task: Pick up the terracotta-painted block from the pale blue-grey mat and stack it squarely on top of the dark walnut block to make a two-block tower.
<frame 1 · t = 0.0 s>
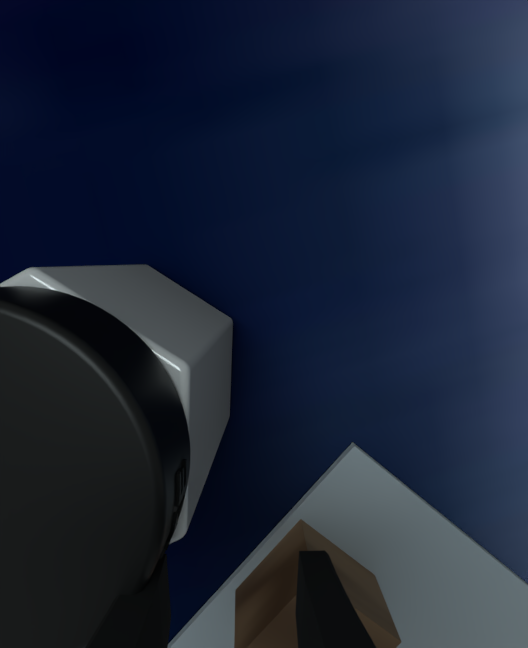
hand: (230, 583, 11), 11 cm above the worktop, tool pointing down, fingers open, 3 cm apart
jar: (147, 363, 21), on the worktop, touching gripper
walnut block: (305, 582, 23), resting on mat
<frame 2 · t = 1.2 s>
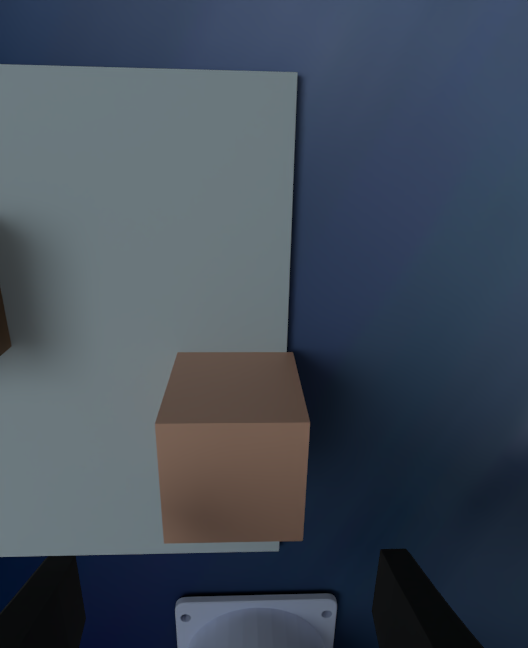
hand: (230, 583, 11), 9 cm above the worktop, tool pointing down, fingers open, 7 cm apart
terracotta block: (235, 402, 19), resting on mat
mat: (83, 353, 18), on the worktop
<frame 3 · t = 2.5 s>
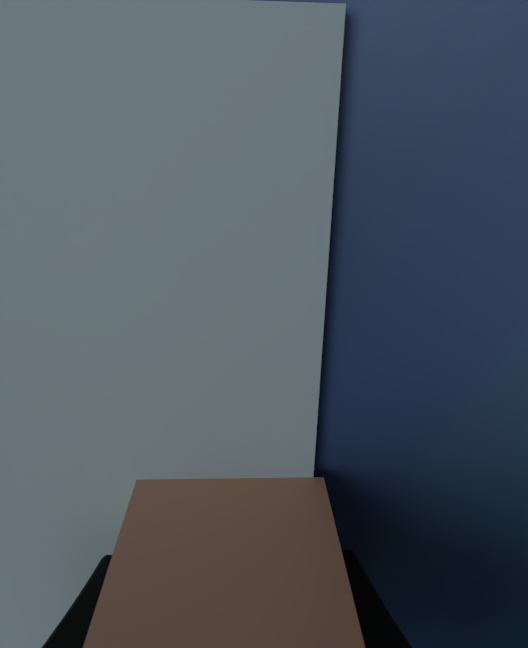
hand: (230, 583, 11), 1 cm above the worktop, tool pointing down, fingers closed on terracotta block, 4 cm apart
terracotta block: (231, 549, 12), resting on mat, touching gripper
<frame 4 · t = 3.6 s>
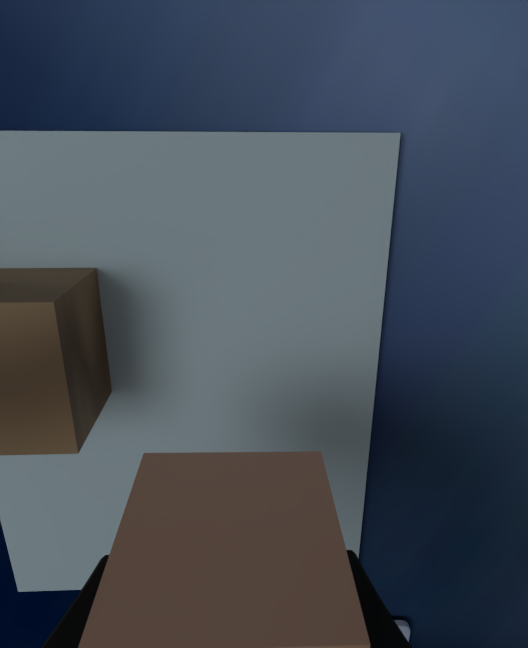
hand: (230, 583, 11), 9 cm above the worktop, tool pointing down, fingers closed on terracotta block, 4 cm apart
terracotta block: (233, 522, 13), point 7 cm above the worktop, touching gripper
mat: (177, 396, 19), on the worktop
walnut block: (36, 333, 17), resting on mat
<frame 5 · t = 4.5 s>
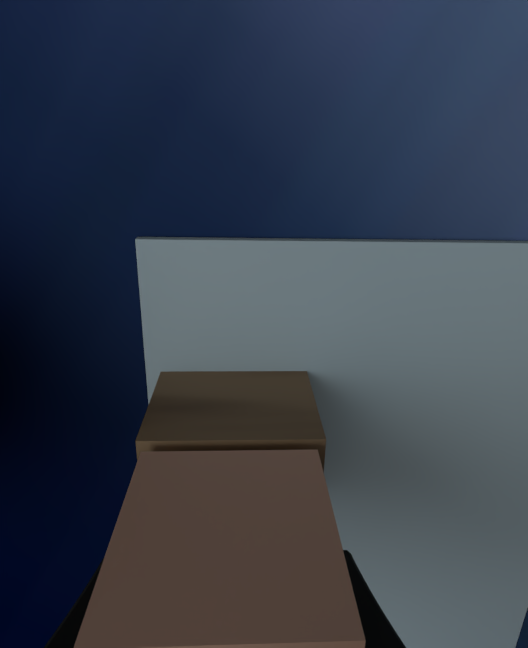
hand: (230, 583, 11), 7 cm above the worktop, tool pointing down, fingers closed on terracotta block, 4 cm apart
terracotta block: (230, 520, 13), point 5 cm above the worktop, touching gripper
mat: (361, 490, 19), on the worktop
walnut block: (234, 433, 17), resting on mat
when the fingers open (7 cm above the worktop, at t = 4.9 s): terracotta block stays where it is, resting on walnut block.
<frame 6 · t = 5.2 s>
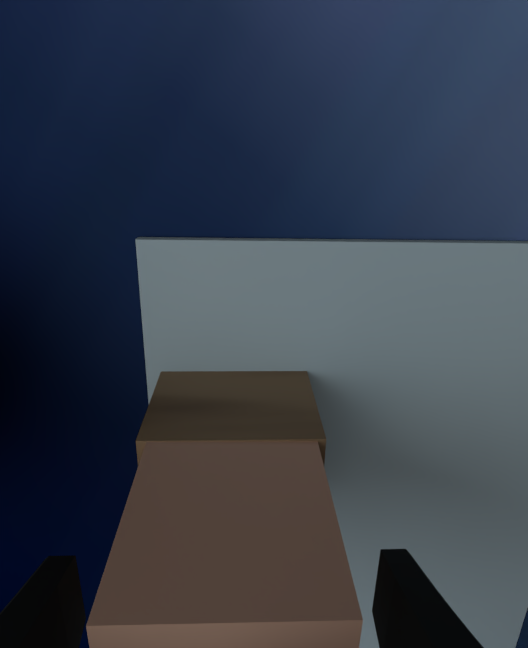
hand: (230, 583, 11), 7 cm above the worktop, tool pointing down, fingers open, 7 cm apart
terracotta block: (232, 509, 13), point 4 cm above the worktop, touching walnut block
mat: (361, 490, 19), on the worktop
walnut block: (234, 433, 17), resting on mat, touching terracotta block
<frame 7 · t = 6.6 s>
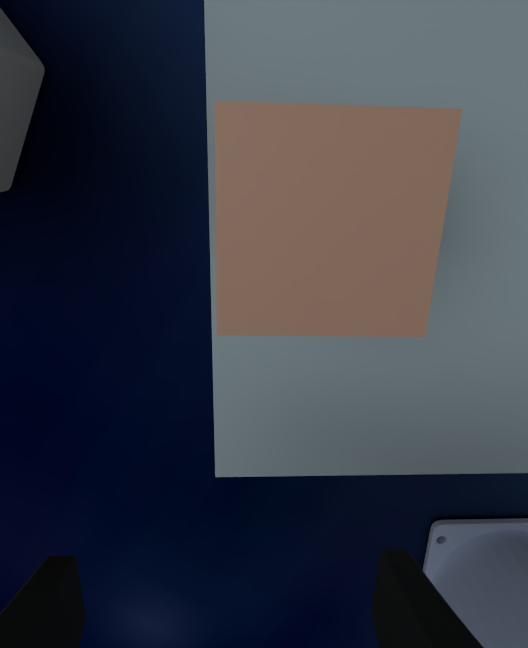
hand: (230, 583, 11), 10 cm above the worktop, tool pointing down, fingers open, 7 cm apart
terracotta block: (300, 201, 14), point 4 cm above the worktop, touching walnut block
mat: (404, 271, 19), on the worktop
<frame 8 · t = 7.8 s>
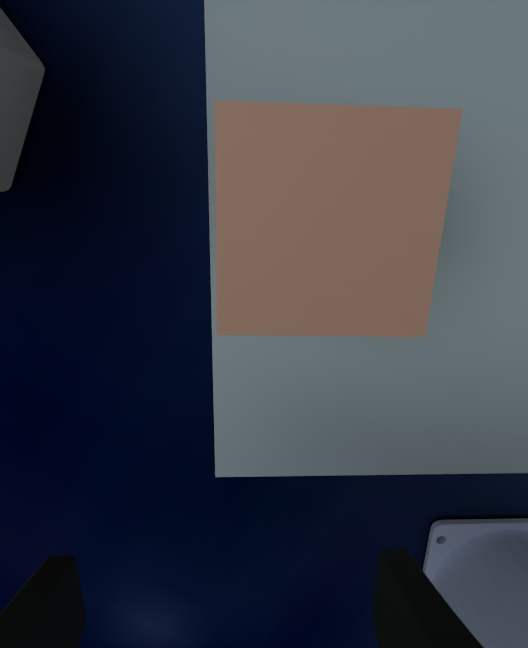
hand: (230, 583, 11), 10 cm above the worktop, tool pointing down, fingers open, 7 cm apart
terracotta block: (300, 201, 14), point 4 cm above the worktop, touching walnut block
mat: (404, 271, 19), on the worktop
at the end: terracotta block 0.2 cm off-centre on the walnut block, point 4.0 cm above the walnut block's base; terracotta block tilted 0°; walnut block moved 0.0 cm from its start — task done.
